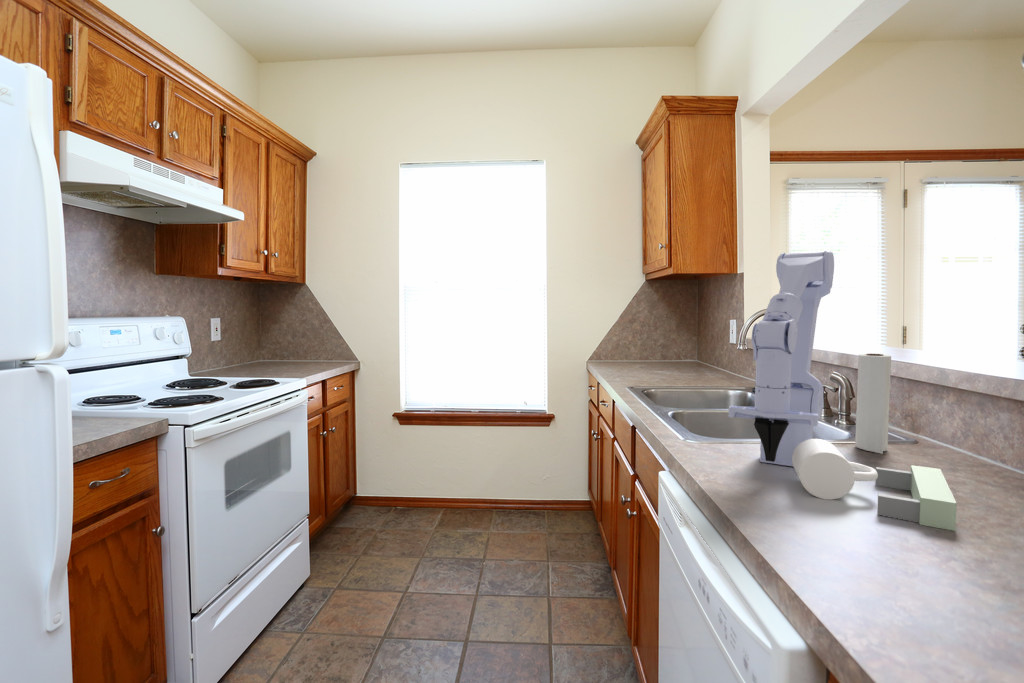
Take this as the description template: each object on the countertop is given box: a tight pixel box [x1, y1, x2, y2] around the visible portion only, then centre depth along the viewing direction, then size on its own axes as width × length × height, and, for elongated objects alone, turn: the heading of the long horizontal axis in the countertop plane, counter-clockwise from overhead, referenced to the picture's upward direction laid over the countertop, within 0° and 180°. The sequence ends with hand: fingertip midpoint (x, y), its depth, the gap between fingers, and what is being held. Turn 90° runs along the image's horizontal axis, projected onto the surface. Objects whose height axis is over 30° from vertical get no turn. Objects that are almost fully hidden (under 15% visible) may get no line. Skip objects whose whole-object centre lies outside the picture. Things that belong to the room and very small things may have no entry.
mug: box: [792, 438, 878, 501], centre depth 89 cm, size 12×10×8 cm
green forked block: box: [875, 464, 958, 532], centre depth 83 cm, size 9×19×4 cm, turn 146°
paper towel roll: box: [854, 353, 892, 455], centre depth 115 cm, size 7×6×21 cm
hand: (770, 460), depth 95 cm, fingers closed
